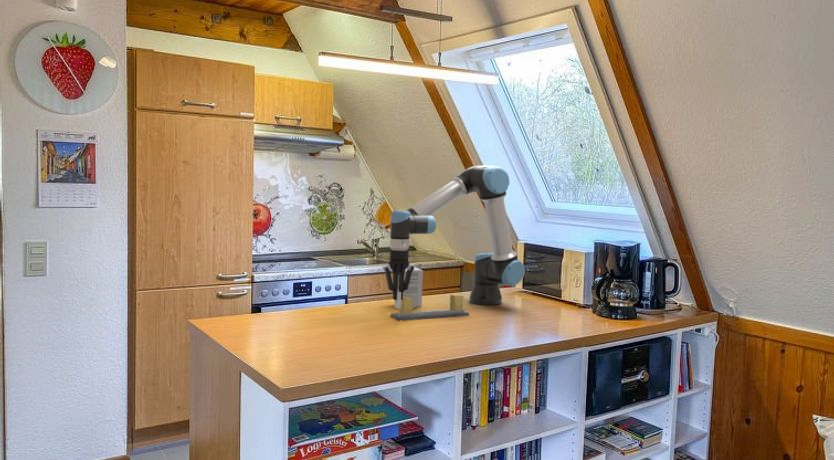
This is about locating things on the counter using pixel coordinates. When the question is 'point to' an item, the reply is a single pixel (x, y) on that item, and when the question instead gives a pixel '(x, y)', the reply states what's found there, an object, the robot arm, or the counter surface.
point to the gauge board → (437, 311)
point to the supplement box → (414, 287)
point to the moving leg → (406, 305)
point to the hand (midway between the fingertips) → (397, 307)
